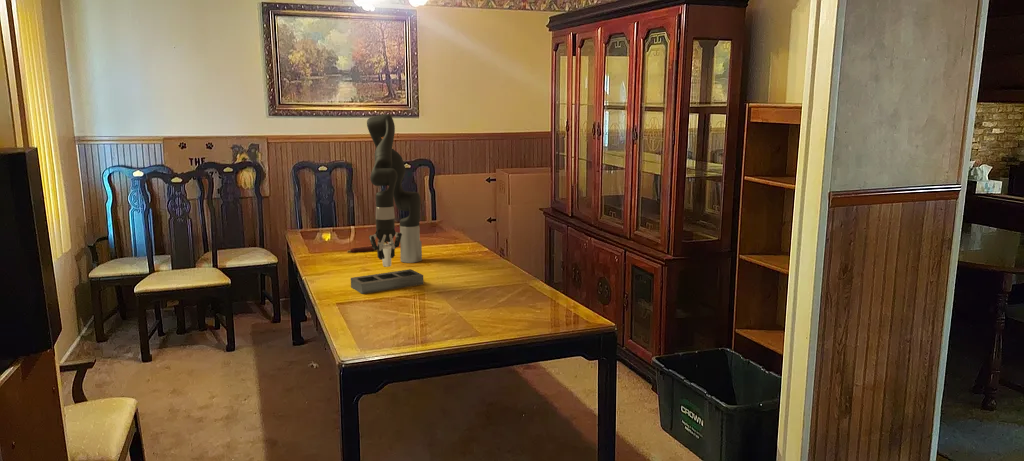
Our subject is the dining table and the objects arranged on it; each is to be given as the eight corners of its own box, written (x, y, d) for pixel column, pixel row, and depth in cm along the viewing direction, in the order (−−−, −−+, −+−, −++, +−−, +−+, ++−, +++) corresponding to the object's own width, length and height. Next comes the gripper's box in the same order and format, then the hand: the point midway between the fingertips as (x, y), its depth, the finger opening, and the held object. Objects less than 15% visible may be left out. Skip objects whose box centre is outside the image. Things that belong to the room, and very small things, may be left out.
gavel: (347, 249, 346) (345, 245, 355) (348, 258, 347) (346, 253, 356) (389, 243, 351) (387, 240, 361) (390, 252, 352) (388, 248, 362)
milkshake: (380, 264, 290) (378, 241, 288) (393, 264, 290) (392, 240, 288) (378, 267, 285) (377, 243, 283) (392, 267, 286) (391, 243, 284)
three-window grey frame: (411, 278, 301) (410, 269, 301) (423, 284, 292) (423, 275, 291) (351, 287, 287) (350, 277, 286) (362, 294, 277) (361, 284, 276)
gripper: (397, 214, 291) (398, 254, 294) (364, 217, 283) (366, 258, 286) (405, 217, 285) (406, 258, 288) (372, 220, 277) (373, 262, 280)
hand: (386, 258), depth 287 cm, fingers closed on milkshake, 4 cm apart
